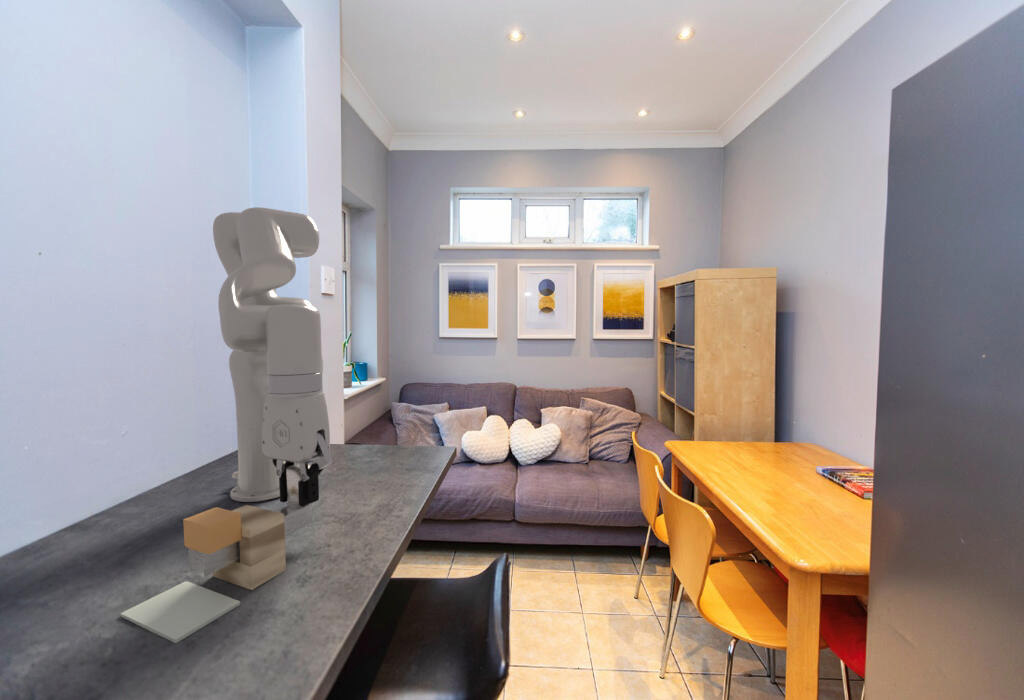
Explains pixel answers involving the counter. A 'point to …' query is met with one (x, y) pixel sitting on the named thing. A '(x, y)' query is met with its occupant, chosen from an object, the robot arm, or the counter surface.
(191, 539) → the block
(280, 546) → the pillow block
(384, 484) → the counter surface
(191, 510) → the counter surface
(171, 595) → the pad
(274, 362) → the robot arm
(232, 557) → the shaft
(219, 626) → the counter surface
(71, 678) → the counter surface
